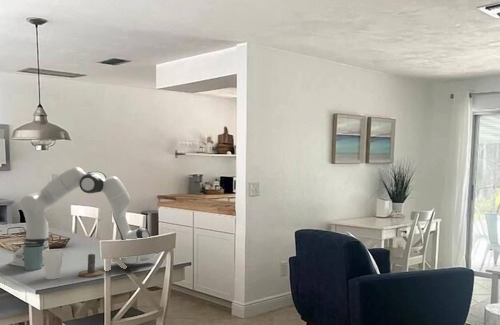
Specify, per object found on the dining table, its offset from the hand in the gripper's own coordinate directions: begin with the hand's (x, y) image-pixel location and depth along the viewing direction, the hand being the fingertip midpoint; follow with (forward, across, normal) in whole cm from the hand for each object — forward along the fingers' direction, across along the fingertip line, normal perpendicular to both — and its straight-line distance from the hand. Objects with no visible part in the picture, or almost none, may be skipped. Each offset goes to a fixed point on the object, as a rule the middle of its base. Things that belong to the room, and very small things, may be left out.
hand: (107, 258), depth 249 cm
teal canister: (+23, -33, +7) cm, 41 cm away
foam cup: (+26, -7, +7) cm, 27 cm away
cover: (+10, 0, +6) cm, 11 cm away
